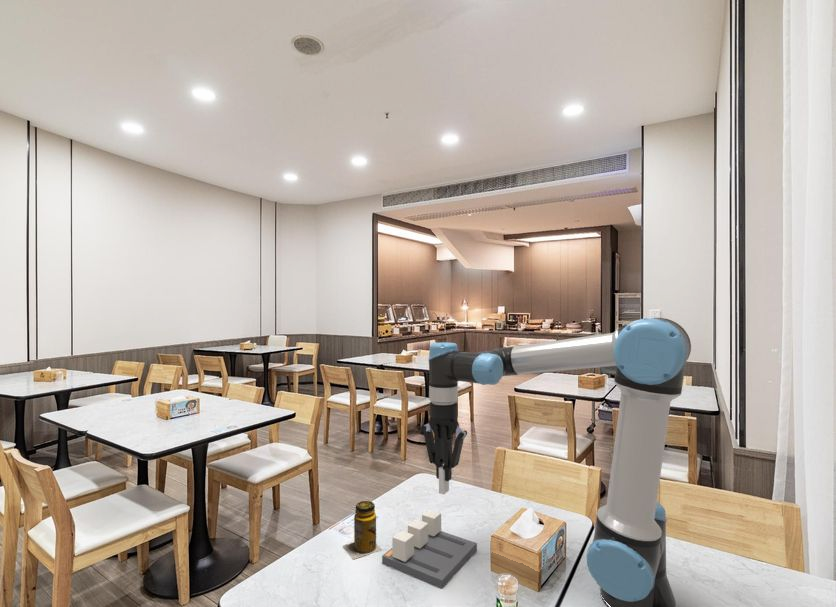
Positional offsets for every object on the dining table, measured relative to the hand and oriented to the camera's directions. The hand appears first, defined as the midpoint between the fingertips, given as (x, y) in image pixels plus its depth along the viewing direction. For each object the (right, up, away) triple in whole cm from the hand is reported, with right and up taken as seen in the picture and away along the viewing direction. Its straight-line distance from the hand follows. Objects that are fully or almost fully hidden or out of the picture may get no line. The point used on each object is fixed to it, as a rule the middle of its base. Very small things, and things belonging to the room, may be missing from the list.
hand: (443, 491), depth 111 cm
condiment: (-22, -19, +6) cm, 30 cm away
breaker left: (-11, -16, -2) cm, 19 cm away
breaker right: (-3, -16, +10) cm, 19 cm away
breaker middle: (-7, -16, +4) cm, 18 cm away
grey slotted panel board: (-3, -18, +2) cm, 19 cm away
